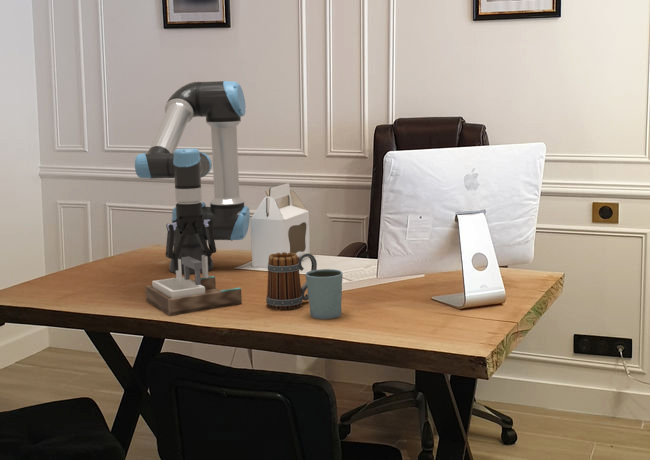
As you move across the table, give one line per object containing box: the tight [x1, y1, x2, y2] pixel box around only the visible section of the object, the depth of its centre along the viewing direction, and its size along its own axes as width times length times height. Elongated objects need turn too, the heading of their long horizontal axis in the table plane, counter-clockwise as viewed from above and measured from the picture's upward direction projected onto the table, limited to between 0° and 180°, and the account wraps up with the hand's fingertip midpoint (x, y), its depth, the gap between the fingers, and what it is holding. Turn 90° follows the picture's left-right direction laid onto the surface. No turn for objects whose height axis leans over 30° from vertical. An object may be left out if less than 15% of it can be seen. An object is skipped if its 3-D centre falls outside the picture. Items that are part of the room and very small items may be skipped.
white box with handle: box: [151, 256, 205, 299], centre depth 245 cm, size 11×16×12 cm, turn 31°
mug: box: [265, 252, 318, 311], centre depth 242 cm, size 16×11×15 cm
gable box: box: [250, 182, 311, 269], centre depth 302 cm, size 22×13×28 cm, turn 158°
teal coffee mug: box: [305, 268, 343, 320], centre depth 231 cm, size 10×10×12 cm
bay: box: [145, 275, 243, 317], centre depth 248 cm, size 22×20×5 cm
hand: (192, 279), depth 247 cm, fingers open, 8 cm apart
